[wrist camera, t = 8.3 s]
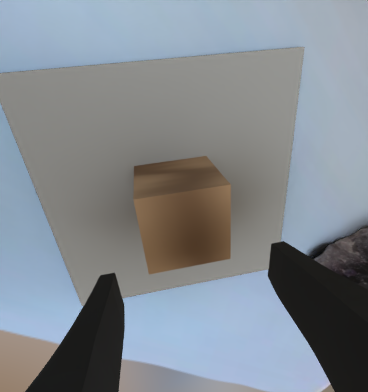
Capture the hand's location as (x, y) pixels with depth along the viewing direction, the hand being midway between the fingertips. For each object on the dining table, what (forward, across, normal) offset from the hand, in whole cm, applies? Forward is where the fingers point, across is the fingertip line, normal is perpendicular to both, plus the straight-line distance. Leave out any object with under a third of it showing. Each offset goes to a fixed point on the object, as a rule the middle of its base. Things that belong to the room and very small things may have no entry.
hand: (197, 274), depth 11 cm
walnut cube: (+8, 0, 0) cm, 8 cm away
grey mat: (+8, 0, 0) cm, 8 cm away
